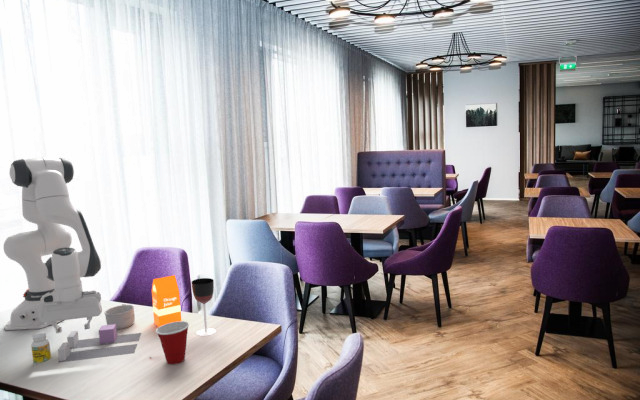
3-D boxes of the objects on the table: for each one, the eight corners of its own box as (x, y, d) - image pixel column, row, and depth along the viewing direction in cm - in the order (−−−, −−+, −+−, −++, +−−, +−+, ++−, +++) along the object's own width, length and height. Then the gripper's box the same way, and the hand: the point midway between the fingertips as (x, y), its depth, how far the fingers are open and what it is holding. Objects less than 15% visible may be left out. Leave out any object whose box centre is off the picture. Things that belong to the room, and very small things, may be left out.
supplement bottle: (53, 358, 171) (50, 331, 169) (48, 364, 165) (45, 337, 164) (36, 360, 169) (33, 333, 168) (31, 366, 164) (27, 339, 163)
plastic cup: (164, 354, 170) (161, 320, 169) (195, 353, 170) (193, 319, 168) (153, 368, 159) (150, 332, 158) (186, 367, 159) (183, 331, 157)
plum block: (99, 343, 178) (98, 330, 178) (102, 338, 183) (101, 325, 183) (114, 342, 179) (113, 328, 179) (117, 336, 184) (115, 324, 184)
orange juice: (182, 325, 197) (178, 277, 194) (159, 331, 192) (155, 281, 189) (175, 320, 203) (172, 273, 201) (154, 325, 198) (150, 277, 196)
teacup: (128, 332, 191) (127, 313, 190) (101, 333, 192) (99, 313, 191) (142, 320, 205) (140, 301, 204) (116, 320, 205) (115, 302, 204)
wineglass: (202, 337, 183) (198, 285, 181) (191, 331, 189) (187, 281, 187) (221, 331, 188) (217, 281, 186) (209, 326, 195) (206, 276, 192)
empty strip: (58, 365, 164) (56, 350, 163) (65, 355, 172) (63, 341, 171) (134, 355, 169) (133, 341, 169) (137, 346, 177) (136, 333, 176)
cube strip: (67, 351, 175) (66, 338, 174) (73, 343, 182) (72, 330, 182) (138, 343, 180) (137, 330, 179) (141, 335, 188) (140, 322, 187)
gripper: (101, 287, 182) (105, 323, 183) (41, 294, 177) (45, 331, 179) (98, 292, 176) (102, 329, 177) (35, 299, 171) (39, 337, 173)
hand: (73, 330), depth 178 cm, fingers open, 8 cm apart
